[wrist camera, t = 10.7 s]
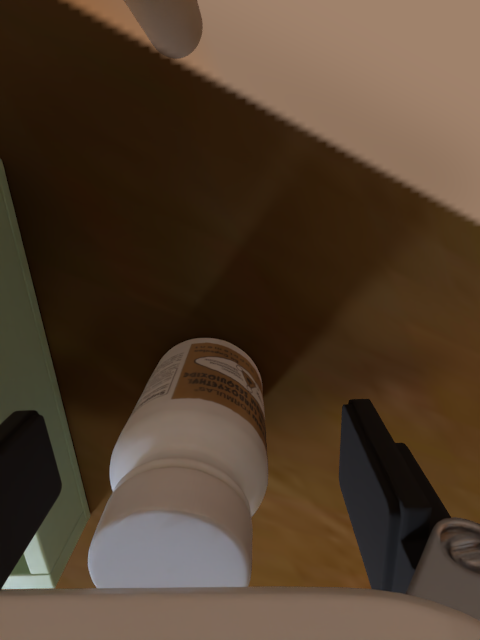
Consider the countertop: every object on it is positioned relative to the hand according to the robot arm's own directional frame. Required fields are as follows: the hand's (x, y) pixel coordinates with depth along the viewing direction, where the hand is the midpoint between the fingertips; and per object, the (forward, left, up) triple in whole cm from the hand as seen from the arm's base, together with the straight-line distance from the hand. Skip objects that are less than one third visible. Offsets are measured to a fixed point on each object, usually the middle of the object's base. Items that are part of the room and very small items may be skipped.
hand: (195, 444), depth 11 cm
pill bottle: (0, 0, -4) cm, 4 cm away
